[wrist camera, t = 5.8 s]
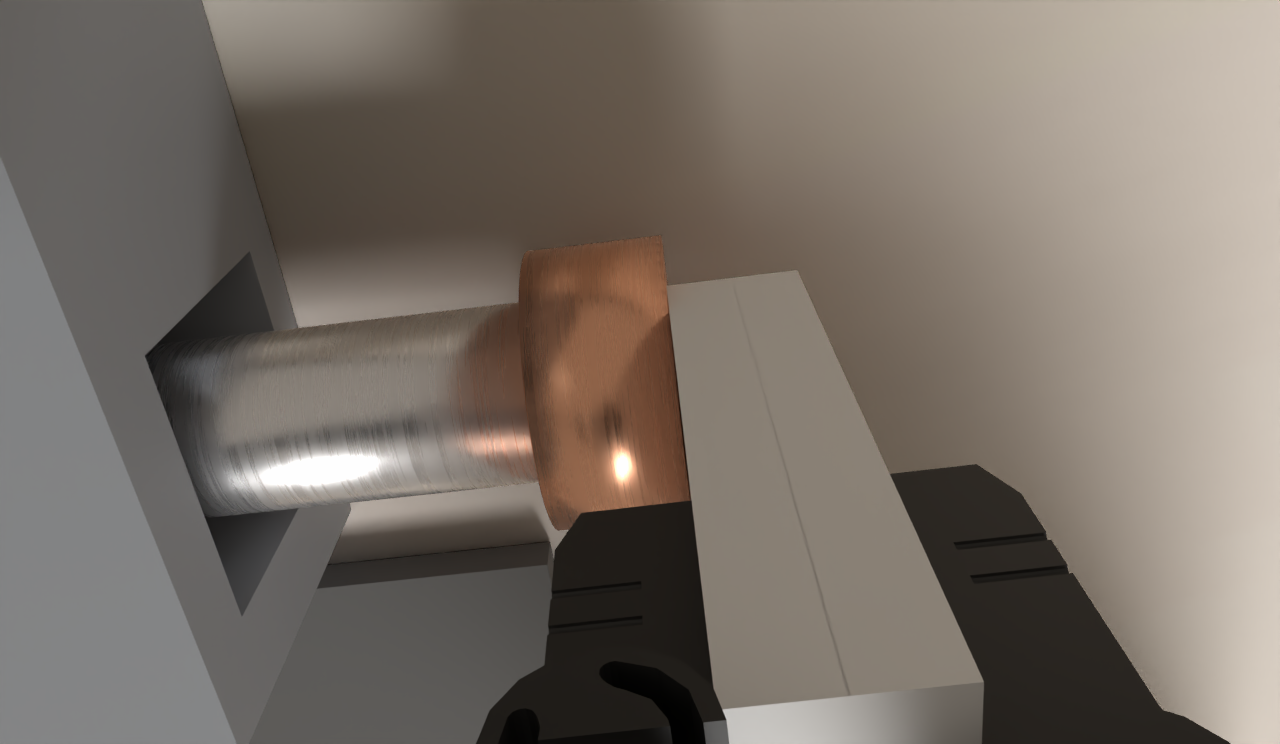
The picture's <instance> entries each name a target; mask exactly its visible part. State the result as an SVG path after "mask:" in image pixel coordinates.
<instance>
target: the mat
mask: <svg viewBox="0 0 1280 744" xmlns="http://www.w3.org/2000/svg"><path fill="white" fill-rule="evenodd" d="M553 567H554V559H553V554H552V549H551V544H550V542H544V543H535V544H525V545H516V546H506V547H497V548H487V549H478V550H468V551H459V552H449V553H440V554H430V555H421V556H411V557H402V558H392V559H383V560H373V561H363V562H354V563H344V564H335V565H327V566H326V569H325V571H324V573H323V575H322V578H321V580H320V582H319V585H318V587H317V589H316V591H315V594H314V596H313V598H312V601H311V603H310V605H309V607H308V610H307V612H306V614H305V617H304V619H303V621H302V623H301V626H300V628H299V630H298V633H297V635H296V637H295V639H294V642H293V644H292V646H291V649H290V651H289V653H288V656H287V658H286V660H285V662H284V665H283V667H282V669H281V672H280V674H279V676H278V678H277V681H276V683H275V685H274V688H273V690H272V692H271V694H270V697H269V699H268V701H267V704H266V706H265V708H264V710H263V713H262V715H261V717H260V720H259V722H258V724H257V726H256V729H255V731H254V733H253V736H252V738H251V740H250V742H249V744H476V742H477V740H478V738H479V735H480V733H481V730H482V728H483V725H484V723H485V720H486V718H487V715H488V713H489V710H490V709H491V708H492V707H493V706H494V705H495V704H496V703H497V702H498V701H499V700H500V699H501V698H502V697H503V696H504V695H505V694H506V693H507V691H508V690H509V689H510V688H511V687H512V686H513V685H514V684H515V683H516V682H517V681H518V680H519V679H521V678H523V677H524V676H526V675H528V674H530V673H532V672H533V671H535V670H537V669H539V668H541V667H542V666H544V664H545V653H546V642H547V635H549V629H548V621H549V610H550V599H552V593H551V588H552V578H553Z"/></svg>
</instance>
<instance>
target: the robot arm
mask: <svg viewBox="0 0 1280 744" xmlns="http://www.w3.org/2000/svg"><path fill="white" fill-rule="evenodd" d="M666 287H667V296H668V304H669V313H670V321H671V330H672V338H673V347H674V355H675V364H676V372H677V381H678V389H679V398H680V406H681V415H682V423H683V432H684V440H685V449H686V457H687V466H688V474H689V483H690V491H691V501H682V502H673V503H664V504H655V505H646V506H638V507H629V508H620V509H611V510H602V511H593V512H584V513H581V514H580V515H579V517H578V518H577V520H576V521H575V522H574V524H573V525H572V527H571V528H570V529H569V531H568V532H567V534H566V535H565V537H564V538H563V539H562V541H561V542H560V544H559V545H558V546H557V548H556V549H555V556H554V567H553V578H552V588H551V593H552V599H550V610H549V621H548V629H549V635H547V642H546V653H545V664H544V666H542V667H541V668H539V669H537V670H535V671H533V672H532V673H530V674H528V675H526V676H524V677H523V678H521V679H519V680H518V681H517V682H516V683H515V684H514V685H513V686H512V687H511V688H510V689H509V690H508V691H507V693H506V694H505V695H504V696H503V697H502V698H501V699H500V700H499V701H498V702H497V703H496V704H495V705H494V706H493V707H492V708H491V709H490V710H489V713H488V715H487V718H486V720H485V723H484V725H483V728H482V730H481V733H480V735H479V738H478V740H477V742H476V744H1230V743H1229V742H1228V741H1226V740H1224V739H1222V738H1221V737H1219V736H1217V735H1215V734H1214V733H1212V732H1210V731H1209V730H1207V729H1205V728H1203V727H1202V726H1200V725H1198V724H1196V723H1195V722H1193V721H1191V720H1189V719H1188V718H1186V717H1184V716H1180V715H1177V714H1174V713H1170V712H1167V711H1163V710H1162V709H1161V707H1160V706H1159V705H1158V703H1157V702H1156V700H1155V699H1154V697H1153V696H1152V694H1151V693H1150V691H1149V690H1148V688H1147V687H1146V685H1145V683H1144V682H1143V680H1142V679H1141V677H1140V676H1139V674H1138V673H1137V671H1136V670H1135V668H1134V667H1133V665H1132V663H1131V662H1130V660H1129V659H1128V657H1127V656H1126V654H1125V653H1124V651H1123V650H1122V648H1121V647H1120V645H1119V643H1118V642H1117V640H1116V639H1115V637H1114V636H1113V634H1112V633H1111V631H1110V630H1109V628H1108V627H1107V625H1106V624H1105V622H1104V620H1103V619H1102V617H1101V616H1100V614H1099V613H1098V611H1097V610H1096V608H1095V607H1094V605H1093V604H1092V602H1091V600H1090V599H1089V597H1088V596H1087V594H1086V593H1085V591H1084V590H1083V588H1082V587H1081V585H1080V584H1079V582H1078V580H1077V579H1076V577H1075V576H1074V574H1073V573H1071V574H1069V572H1068V568H1067V564H1066V562H1065V560H1064V559H1063V557H1062V556H1061V554H1060V553H1059V551H1058V550H1057V548H1056V547H1055V545H1054V544H1053V542H1052V541H1051V540H1047V537H1046V531H1045V530H1044V528H1043V527H1042V525H1041V524H1040V522H1039V521H1038V519H1037V517H1036V516H1035V514H1034V513H1033V511H1032V510H1031V508H1030V507H1029V505H1028V504H1027V502H1026V501H1025V499H1024V497H1023V496H1022V494H1021V493H1019V492H1018V491H1016V490H1015V489H1013V488H1012V487H1010V486H1009V485H1007V484H1006V483H1004V482H1003V481H1001V480H999V479H998V478H996V477H995V476H993V475H992V474H990V473H989V472H987V471H986V470H984V469H983V468H981V467H980V466H978V465H977V464H975V465H966V466H957V467H948V468H939V469H930V470H921V471H913V472H904V473H895V474H890V473H889V471H888V469H887V467H886V465H885V462H884V460H883V458H882V456H881V454H880V451H879V449H878V447H877V445H876V443H875V440H874V438H873V436H872V434H871V431H870V429H869V427H868V425H867V423H866V420H865V418H864V416H863V414H862V412H861V409H860V407H859V405H858V403H857V401H856V398H855V396H854V394H853V392H852V390H851V387H850V385H849V383H848V381H847V379H846V376H845V374H844V372H843V370H842V368H841V365H840V363H839V361H838V359H837V356H836V354H835V352H834V350H833V348H832V345H831V343H830V341H829V339H828V337H827V334H826V332H825V330H824V328H823V326H822V323H821V321H820V319H819V317H818V315H817V312H816V310H815V308H814V306H813V304H812V301H811V299H810V297H809V295H808V292H807V290H806V288H805V286H804V284H803V281H802V279H801V277H800V275H799V273H798V270H793V271H784V272H776V273H768V274H759V275H751V276H743V277H734V278H726V279H718V280H709V281H701V282H693V283H685V284H676V285H668V286H666Z"/></svg>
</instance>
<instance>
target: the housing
mask: <svg viewBox="0 0 1280 744" xmlns="http://www.w3.org/2000/svg"><path fill="white" fill-rule="evenodd" d="M293 328H298V327H297V324H296V320H295V317H294V314H293V310H292V307H291V303H290V300H289V297H288V293H287V290H286V286H285V283H284V280H283V276H282V273H281V269H280V266H279V263H278V259H277V256H276V252H275V249H274V246H273V242H272V239H271V235H270V232H269V229H268V225H267V222H266V218H265V215H264V212H263V208H262V205H261V201H260V198H259V195H258V191H257V188H256V184H255V181H254V178H253V174H252V171H251V167H250V164H249V161H248V157H247V154H246V150H245V147H244V144H243V140H242V137H241V134H240V130H239V127H238V123H237V120H236V117H235V113H234V110H233V106H232V103H231V100H230V96H229V93H228V89H227V86H226V83H225V79H224V76H223V72H222V69H221V66H220V62H219V59H218V55H217V52H216V49H215V45H214V42H213V38H212V35H211V32H210V28H209V25H208V21H207V18H206V15H205V11H204V8H203V4H202V1H201V0H0V744H249V742H250V740H251V738H252V736H253V733H254V731H255V729H256V726H257V724H258V722H259V720H260V717H261V715H262V713H263V710H264V708H265V706H266V704H267V701H268V699H269V697H270V694H271V692H272V690H273V688H274V685H275V683H276V681H277V678H278V676H279V674H280V672H281V669H282V667H283V665H284V662H285V660H286V658H287V656H288V653H289V651H290V649H291V646H292V644H293V642H294V639H295V637H296V635H297V633H298V630H299V628H300V626H301V623H302V621H303V619H304V617H305V614H306V612H307V610H308V607H309V605H310V603H311V601H312V598H313V596H314V594H315V591H316V589H317V587H318V585H319V582H320V580H321V578H322V575H323V573H324V571H325V569H326V566H327V564H328V562H329V559H330V557H331V555H332V553H333V550H334V548H335V546H336V543H337V541H338V539H339V537H340V534H341V532H342V530H343V527H344V525H345V523H346V521H347V518H348V516H349V514H350V511H351V507H350V504H349V503H342V504H332V505H323V506H314V507H305V508H295V509H286V510H277V511H268V512H258V513H249V514H240V515H230V516H221V517H212V518H205V516H204V514H203V511H202V508H201V506H200V503H199V500H198V498H197V495H196V492H195V490H194V487H193V484H192V481H191V479H190V476H189V473H188V471H187V468H186V465H185V463H184V460H183V457H182V455H181V452H180V449H179V446H178V444H177V441H176V438H175V436H174V433H173V430H172V428H171V425H170V422H169V420H168V417H167V414H166V411H165V409H164V406H163V403H162V401H161V398H160V395H159V393H158V390H157V387H156V385H155V382H154V379H153V376H152V374H151V371H150V368H149V366H148V363H147V360H146V358H145V355H146V354H147V353H148V352H149V351H150V350H151V349H152V348H153V347H154V346H155V345H156V344H164V343H173V342H181V341H190V340H198V339H207V338H216V337H224V336H233V335H241V334H250V333H259V332H267V331H276V330H284V329H293Z"/></svg>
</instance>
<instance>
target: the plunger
mask: <svg viewBox="0 0 1280 744" xmlns="http://www.w3.org/2000/svg"><path fill="white" fill-rule="evenodd" d="M666 286H668V283H667V275H666V267H665V259H664V251H663V244H662V237H661V235H659V236H650V237H642V238H634V239H625V240H617V241H608V242H600V243H591V244H583V245H574V246H566V247H558V248H549V249H541V250H532V251H527V252H526V253H525V254H524V257H523V260H522V264H521V271H520V281H519V302H517V303H508V304H500V305H491V306H482V307H474V308H465V309H457V310H448V311H439V312H431V313H422V314H414V315H405V316H396V317H388V318H379V319H371V320H362V321H353V322H345V323H336V324H327V325H319V326H310V327H302V328H293V329H284V330H276V331H267V332H259V333H250V334H241V335H233V336H224V337H216V338H207V339H198V340H190V341H181V342H173V343H164V344H156V345H155V346H154V347H153V348H152V349H151V350H150V351H149V352H148V353H147V354H146V355H145V358H146V360H147V363H148V366H149V368H150V371H151V374H152V376H153V379H154V382H155V385H156V387H157V390H158V393H159V395H160V398H161V401H162V403H163V406H164V409H165V411H166V414H167V417H168V420H169V422H170V425H171V428H172V430H173V433H174V436H175V438H176V441H177V444H178V446H179V449H180V452H181V455H182V457H183V460H184V463H185V465H186V468H187V471H188V473H189V476H190V479H191V481H192V484H193V487H194V490H195V492H196V495H197V498H198V500H199V503H200V506H201V508H202V511H203V514H204V516H205V518H212V517H221V516H230V515H240V514H249V513H258V512H268V511H277V510H286V509H295V508H305V507H314V506H323V505H332V504H342V503H351V502H360V501H370V500H379V499H388V498H397V497H407V496H416V495H425V494H434V493H444V492H453V491H462V490H471V489H481V488H490V487H499V486H509V485H518V484H527V483H536V482H539V485H540V489H541V493H542V497H543V501H544V504H545V507H546V510H547V513H548V516H549V518H550V520H551V522H552V524H553V526H554V527H555V529H557V530H558V531H559V530H568V529H570V528H571V527H572V525H573V524H574V522H575V521H576V520H577V518H578V517H579V515H580V514H581V513H584V512H593V511H602V510H611V509H620V508H629V507H638V506H646V505H655V504H664V503H673V502H682V501H691V491H690V483H689V474H688V466H687V457H686V449H685V440H684V432H683V423H682V415H681V406H680V398H679V389H678V381H677V372H676V364H675V355H674V347H673V338H672V330H671V321H670V313H669V304H668V296H667V287H666Z"/></svg>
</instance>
